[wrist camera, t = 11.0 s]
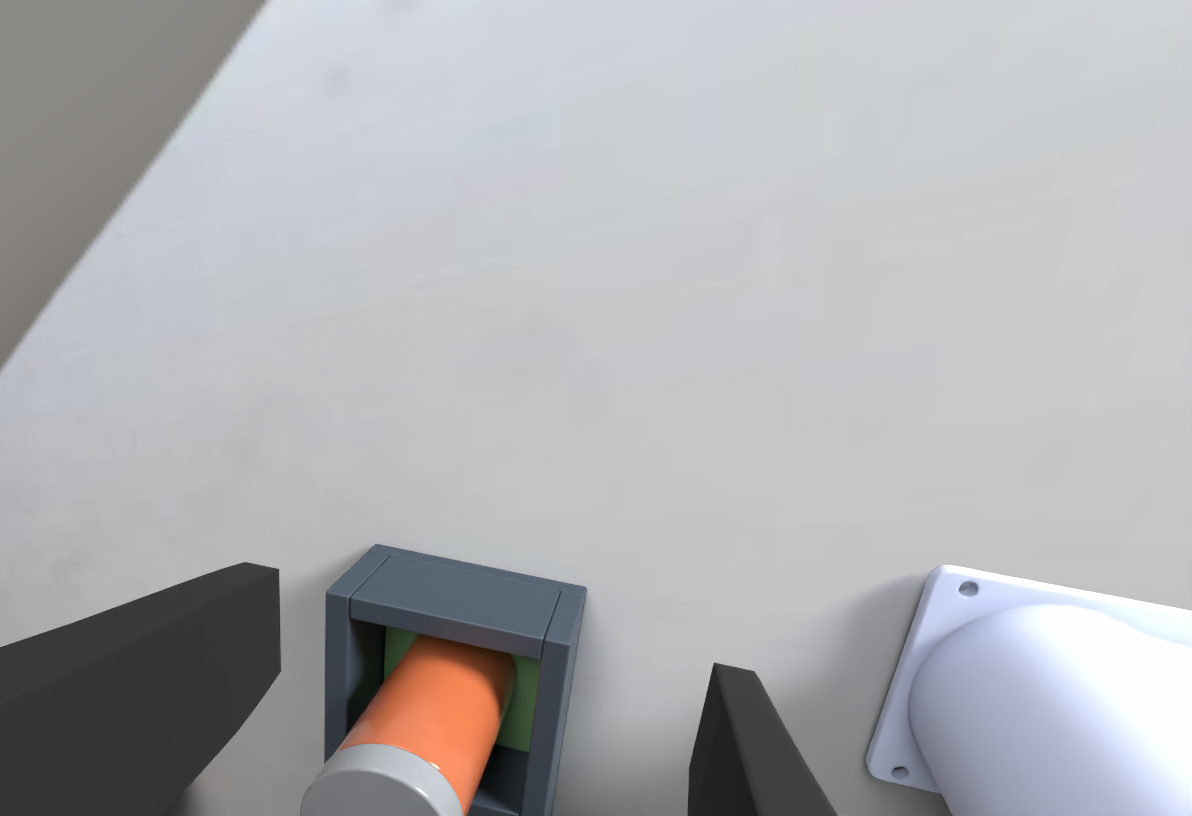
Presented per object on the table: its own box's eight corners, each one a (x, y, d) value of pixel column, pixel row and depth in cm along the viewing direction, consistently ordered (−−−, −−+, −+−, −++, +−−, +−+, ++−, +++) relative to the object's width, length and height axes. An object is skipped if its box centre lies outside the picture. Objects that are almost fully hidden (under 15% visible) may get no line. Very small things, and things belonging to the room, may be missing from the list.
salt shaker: (524, 631, 19) (458, 791, 13) (512, 728, 20) (447, 913, 15) (409, 606, 20) (297, 751, 14) (404, 702, 21) (298, 873, 15)
